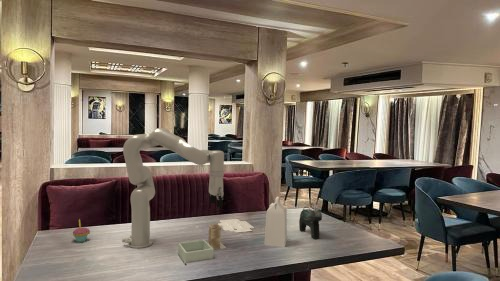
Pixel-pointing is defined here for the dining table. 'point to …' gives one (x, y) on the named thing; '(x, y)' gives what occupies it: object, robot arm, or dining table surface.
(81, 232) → the cupcake
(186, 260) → the bin
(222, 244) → the stud plate
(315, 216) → the dark grey animal figurine
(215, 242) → the strut
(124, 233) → the dining table surface
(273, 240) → the milk
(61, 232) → the dining table surface
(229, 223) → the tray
